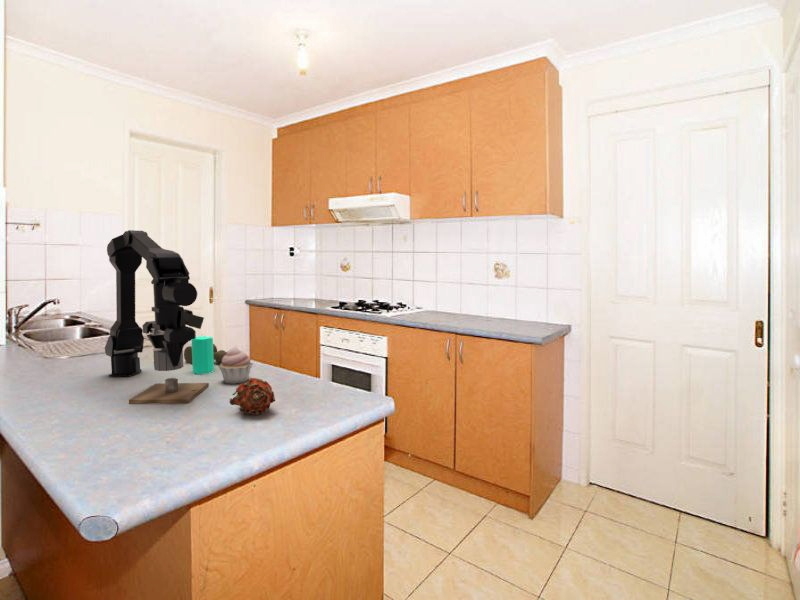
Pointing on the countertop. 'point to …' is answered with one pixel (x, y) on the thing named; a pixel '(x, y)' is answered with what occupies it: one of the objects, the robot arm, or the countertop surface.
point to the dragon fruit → (253, 396)
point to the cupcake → (235, 366)
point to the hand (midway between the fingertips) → (169, 363)
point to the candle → (202, 355)
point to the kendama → (216, 355)
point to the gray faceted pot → (165, 360)
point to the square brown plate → (169, 392)
